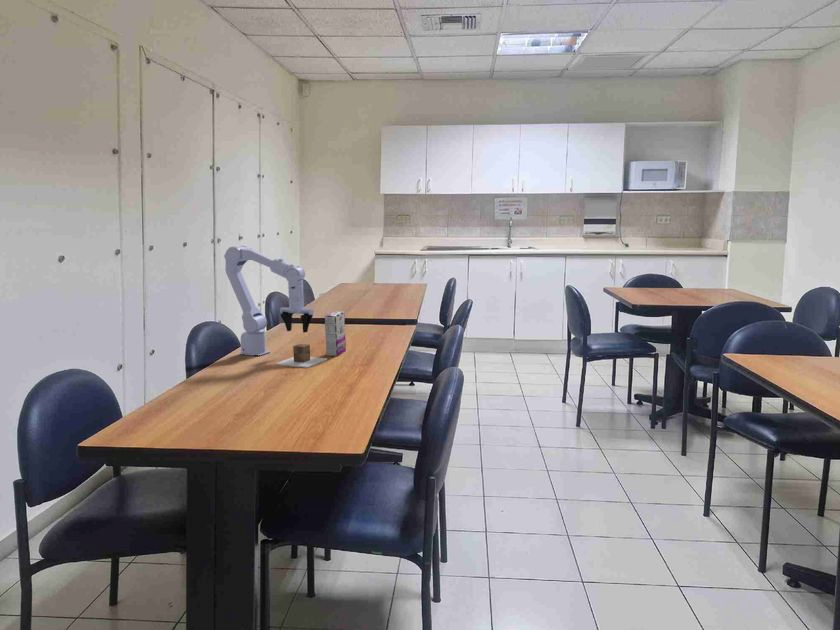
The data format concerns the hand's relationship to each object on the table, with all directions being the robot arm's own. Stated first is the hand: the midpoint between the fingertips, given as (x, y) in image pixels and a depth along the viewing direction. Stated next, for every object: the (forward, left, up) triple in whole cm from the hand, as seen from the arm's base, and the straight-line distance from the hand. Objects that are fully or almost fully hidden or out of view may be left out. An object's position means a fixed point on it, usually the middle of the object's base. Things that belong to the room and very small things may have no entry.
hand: (297, 331), depth 253 cm
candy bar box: (+12, +9, -10) cm, 18 cm away
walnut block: (+8, -10, -9) cm, 16 cm away
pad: (+8, -10, -10) cm, 16 cm away
